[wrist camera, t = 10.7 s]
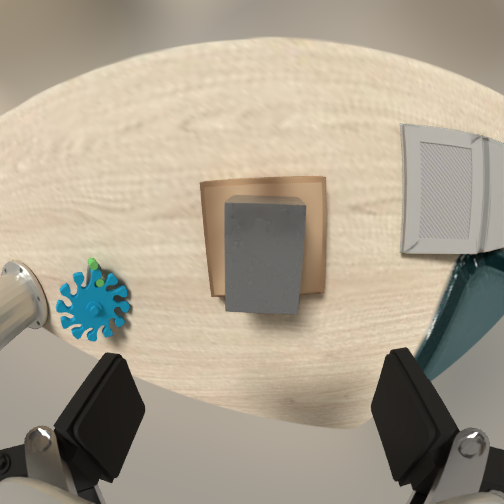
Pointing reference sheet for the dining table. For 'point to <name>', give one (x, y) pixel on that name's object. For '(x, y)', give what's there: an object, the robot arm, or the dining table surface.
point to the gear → (92, 303)
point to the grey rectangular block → (263, 253)
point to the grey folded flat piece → (451, 191)
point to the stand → (298, 186)
